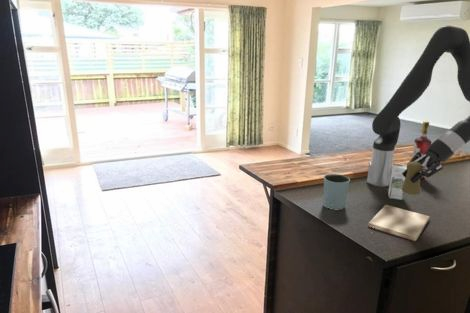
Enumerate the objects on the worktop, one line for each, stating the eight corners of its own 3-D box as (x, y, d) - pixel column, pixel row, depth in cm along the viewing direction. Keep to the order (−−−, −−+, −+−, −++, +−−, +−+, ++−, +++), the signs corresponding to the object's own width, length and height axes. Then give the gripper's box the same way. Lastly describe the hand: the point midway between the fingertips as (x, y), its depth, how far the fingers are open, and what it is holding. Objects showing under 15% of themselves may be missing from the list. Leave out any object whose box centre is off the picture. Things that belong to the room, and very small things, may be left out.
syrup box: (401, 195, 159) (407, 164, 154) (403, 200, 153) (408, 168, 149) (387, 193, 160) (392, 162, 156) (388, 198, 155) (393, 166, 151)
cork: (398, 188, 134) (402, 160, 131) (413, 187, 135) (418, 159, 132) (407, 194, 129) (412, 165, 125) (423, 194, 129) (428, 164, 126)
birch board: (368, 226, 131) (368, 222, 131) (385, 208, 146) (385, 204, 146) (415, 241, 122) (416, 237, 121) (428, 219, 137) (429, 216, 136)
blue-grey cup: (319, 208, 145) (322, 180, 142) (322, 198, 154) (325, 172, 151) (346, 212, 142) (349, 184, 138) (347, 202, 151) (350, 175, 147)
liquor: (406, 174, 185) (415, 120, 176) (421, 175, 184) (431, 120, 175) (411, 179, 178) (420, 123, 170) (427, 180, 177) (437, 123, 169)
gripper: (428, 134, 133) (392, 165, 136) (452, 144, 120) (411, 178, 123) (440, 147, 135) (403, 178, 138) (465, 159, 121) (424, 193, 124)
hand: (407, 178), depth 130 cm, fingers closed on cork, 5 cm apart
